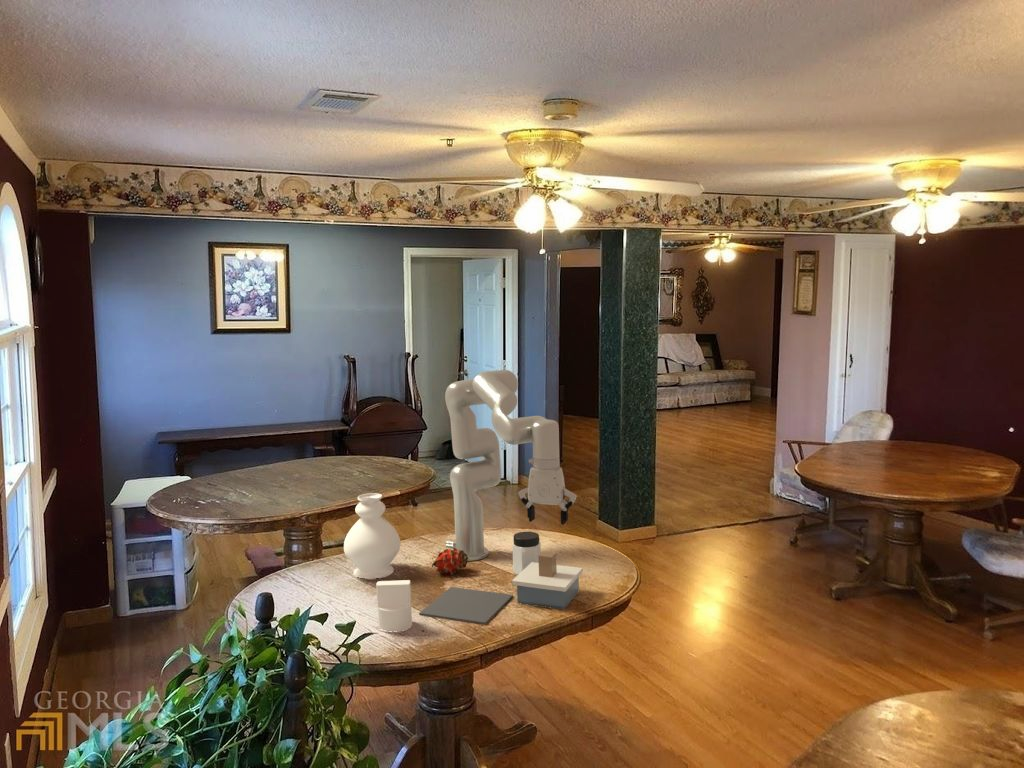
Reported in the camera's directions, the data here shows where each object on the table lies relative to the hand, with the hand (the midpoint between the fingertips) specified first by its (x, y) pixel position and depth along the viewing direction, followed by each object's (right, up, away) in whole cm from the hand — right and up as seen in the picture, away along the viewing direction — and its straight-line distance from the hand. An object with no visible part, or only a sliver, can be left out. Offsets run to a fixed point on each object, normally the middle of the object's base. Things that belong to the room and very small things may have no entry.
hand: (547, 521), depth 226 cm
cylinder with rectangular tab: (-42, -26, -14) cm, 51 cm away
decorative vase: (-55, -21, +27) cm, 64 cm away
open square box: (0, -23, +3) cm, 23 cm away
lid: (0, -17, +2) cm, 17 cm away
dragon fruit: (-30, -21, +24) cm, 44 cm away
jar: (-5, -20, +23) cm, 31 cm away
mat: (-23, -24, -2) cm, 33 cm away
